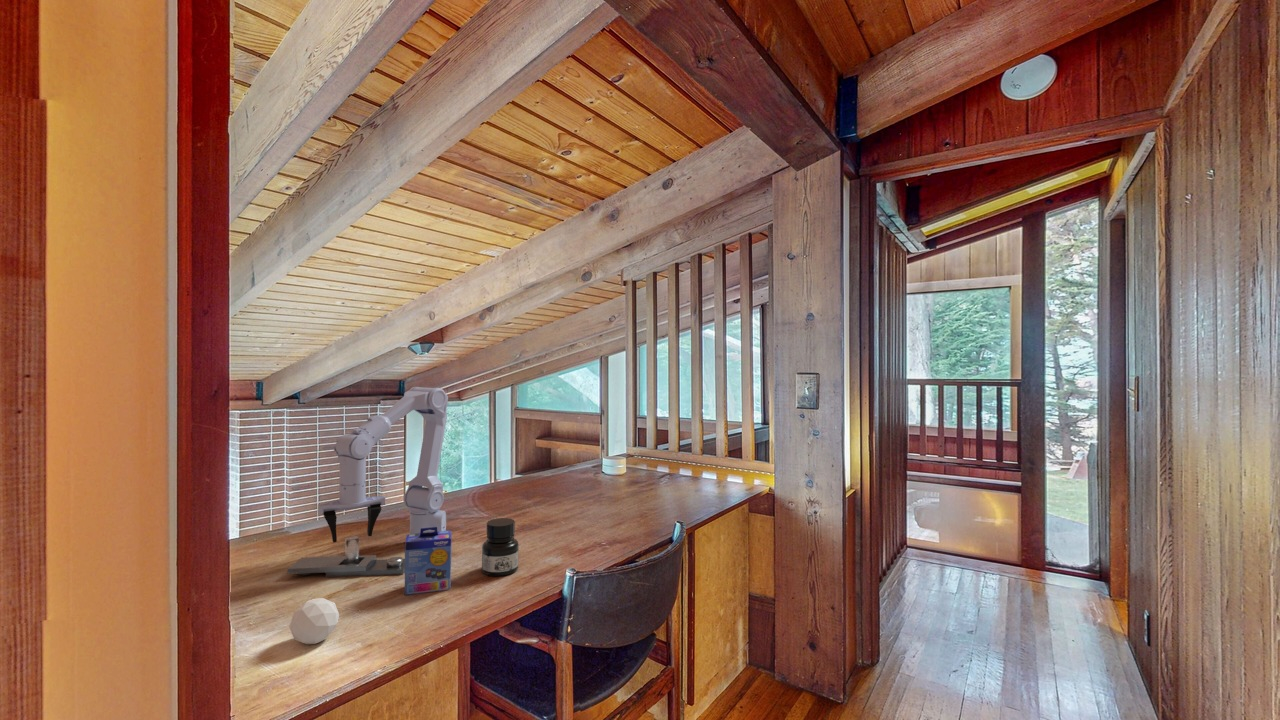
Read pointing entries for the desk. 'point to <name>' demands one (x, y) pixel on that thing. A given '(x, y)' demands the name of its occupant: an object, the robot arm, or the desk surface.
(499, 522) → the ink bottle
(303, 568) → the end link upper
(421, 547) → the ink cartridge box
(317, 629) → the ball
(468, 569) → the desk surface
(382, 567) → the end link lower
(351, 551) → the steel pin
